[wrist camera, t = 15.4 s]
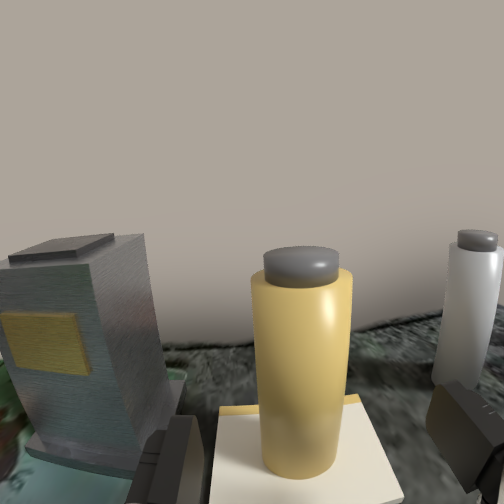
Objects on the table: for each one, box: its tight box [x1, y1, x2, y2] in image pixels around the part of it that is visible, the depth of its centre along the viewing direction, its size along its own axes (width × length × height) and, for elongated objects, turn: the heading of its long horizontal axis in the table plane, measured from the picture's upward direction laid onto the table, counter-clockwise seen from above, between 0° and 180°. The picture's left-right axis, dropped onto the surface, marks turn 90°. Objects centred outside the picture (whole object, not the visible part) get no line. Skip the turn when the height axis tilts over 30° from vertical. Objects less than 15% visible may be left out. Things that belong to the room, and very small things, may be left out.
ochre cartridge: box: [251, 246, 352, 480], centre depth 15 cm, size 4×4×12 cm
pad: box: [209, 394, 404, 504], centre depth 16 cm, size 10×10×1 cm
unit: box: [0, 233, 187, 480], centre depth 18 cm, size 10×10×13 cm
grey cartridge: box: [431, 230, 504, 390], centre depth 20 cm, size 4×4×12 cm
